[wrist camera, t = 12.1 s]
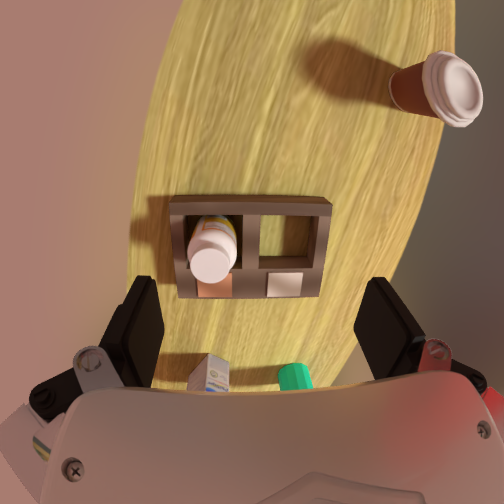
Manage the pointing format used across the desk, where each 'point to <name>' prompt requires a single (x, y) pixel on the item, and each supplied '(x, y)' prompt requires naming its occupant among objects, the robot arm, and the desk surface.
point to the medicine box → (210, 375)
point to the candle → (294, 377)
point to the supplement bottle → (212, 248)
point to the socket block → (253, 247)
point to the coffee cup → (438, 89)
